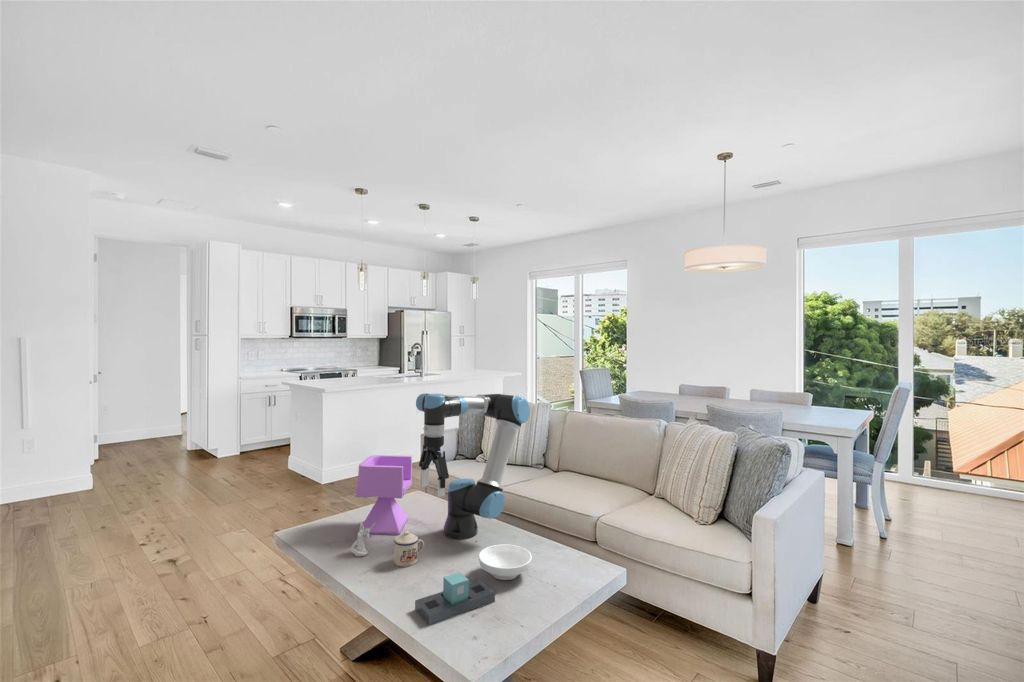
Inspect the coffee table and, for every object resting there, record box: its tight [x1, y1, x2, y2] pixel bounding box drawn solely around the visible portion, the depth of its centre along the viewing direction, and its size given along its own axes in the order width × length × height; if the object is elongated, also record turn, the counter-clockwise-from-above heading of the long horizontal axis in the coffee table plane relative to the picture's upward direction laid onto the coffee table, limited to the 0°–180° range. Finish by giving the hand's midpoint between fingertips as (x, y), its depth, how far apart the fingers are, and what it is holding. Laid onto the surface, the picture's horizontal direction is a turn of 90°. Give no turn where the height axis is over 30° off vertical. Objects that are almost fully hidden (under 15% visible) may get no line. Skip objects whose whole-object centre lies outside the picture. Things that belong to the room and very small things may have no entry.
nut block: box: [442, 572, 470, 605], centre depth 158 cm, size 6×6×9 cm
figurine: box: [350, 521, 375, 557], centre depth 195 cm, size 11×8×12 cm
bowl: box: [478, 543, 533, 581], centre depth 179 cm, size 20×20×7 cm
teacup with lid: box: [393, 530, 425, 568], centre depth 188 cm, size 12×9×12 cm
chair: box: [355, 454, 413, 536], centre depth 221 cm, size 20×20×30 cm
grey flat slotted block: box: [414, 579, 496, 626], centre depth 158 cm, size 24×10×3 cm, turn 125°
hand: (432, 491), depth 184 cm, fingers open, 13 cm apart
